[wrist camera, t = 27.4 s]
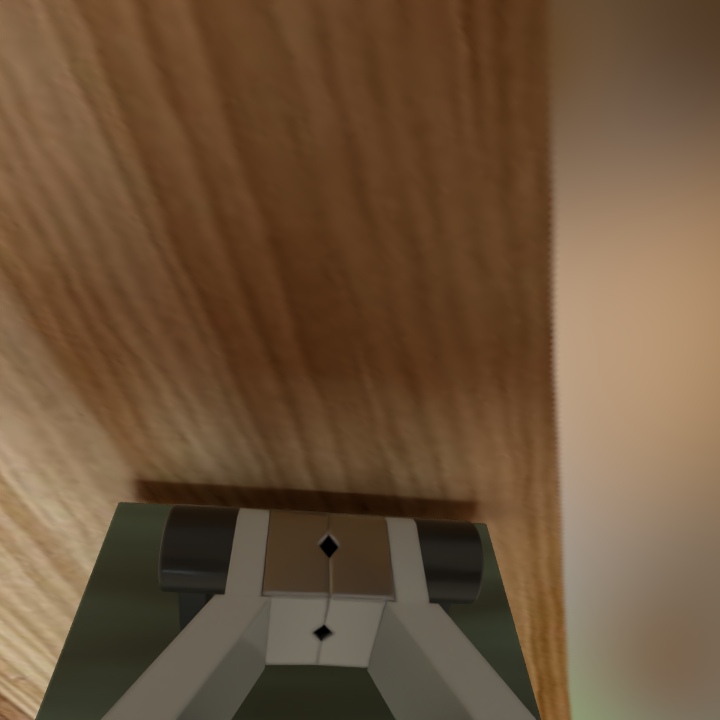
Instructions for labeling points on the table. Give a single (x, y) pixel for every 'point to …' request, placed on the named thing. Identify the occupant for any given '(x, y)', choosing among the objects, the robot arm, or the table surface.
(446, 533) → the drawer
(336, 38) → the table surface
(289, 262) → the table surface
